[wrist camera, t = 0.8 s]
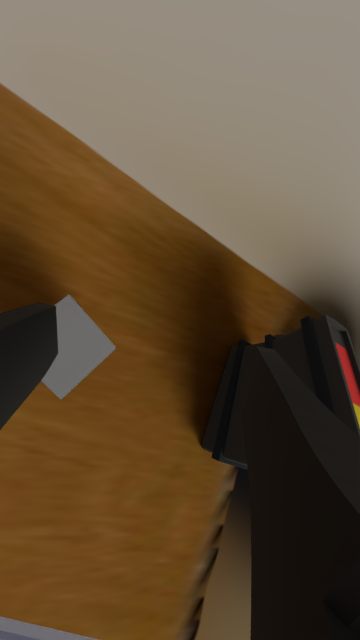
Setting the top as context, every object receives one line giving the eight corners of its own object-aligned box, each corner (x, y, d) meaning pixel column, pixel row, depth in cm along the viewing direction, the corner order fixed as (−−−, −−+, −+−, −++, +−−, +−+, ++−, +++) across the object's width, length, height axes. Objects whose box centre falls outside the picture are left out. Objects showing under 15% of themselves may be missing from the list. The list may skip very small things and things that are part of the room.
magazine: (195, 489, 26) (364, 466, 16) (201, 360, 34) (316, 291, 24) (226, 496, 28) (399, 480, 18) (225, 371, 36) (343, 311, 26)
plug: (46, 383, 23) (60, 399, 16) (7, 345, 21) (4, 343, 15) (87, 348, 24) (116, 348, 17) (52, 310, 23) (69, 294, 16)
